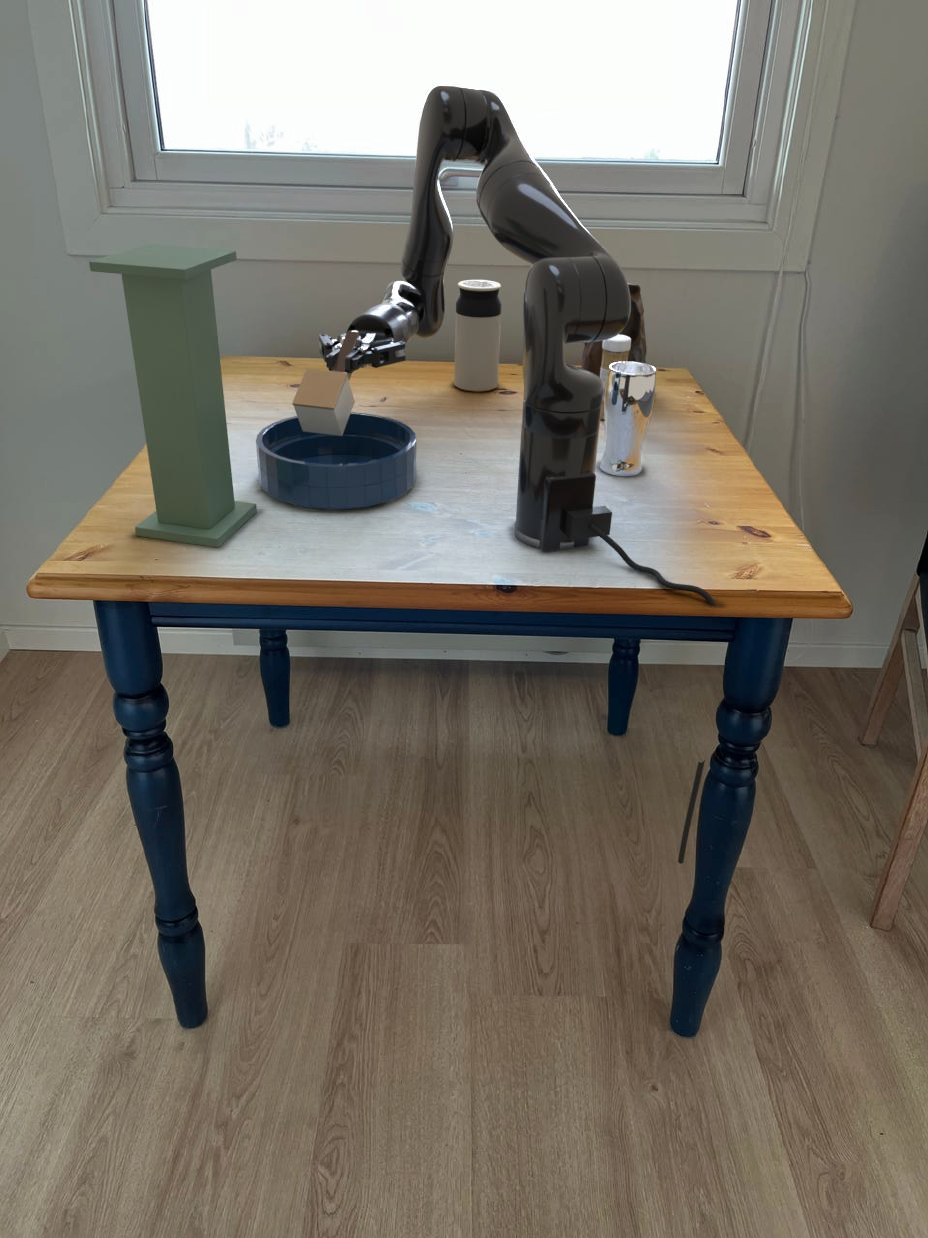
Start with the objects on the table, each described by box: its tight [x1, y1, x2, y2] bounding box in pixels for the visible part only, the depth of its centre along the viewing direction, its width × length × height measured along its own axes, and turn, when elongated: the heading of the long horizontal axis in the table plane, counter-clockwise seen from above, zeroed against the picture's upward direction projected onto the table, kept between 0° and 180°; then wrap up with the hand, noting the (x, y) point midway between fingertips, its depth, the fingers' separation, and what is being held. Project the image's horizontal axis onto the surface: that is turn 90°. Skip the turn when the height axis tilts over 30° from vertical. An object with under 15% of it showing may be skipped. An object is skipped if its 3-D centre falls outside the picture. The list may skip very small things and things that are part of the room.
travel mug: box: [453, 279, 503, 393], centre depth 169 cm, size 8×8×18 cm
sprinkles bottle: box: [600, 334, 631, 421], centre depth 157 cm, size 5×5×14 cm
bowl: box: [255, 411, 417, 511], centre depth 131 cm, size 22×22×6 cm
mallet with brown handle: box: [291, 330, 362, 436], centre depth 126 cm, size 16×6×5 cm, turn 166°
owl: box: [580, 282, 648, 377], centre depth 167 cm, size 13×13×20 cm
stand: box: [88, 243, 258, 548], centre depth 111 cm, size 12×11×32 cm
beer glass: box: [599, 362, 657, 477], centre depth 136 cm, size 7×7×15 cm
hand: (339, 364), depth 127 cm, fingers closed on mallet with brown handle
